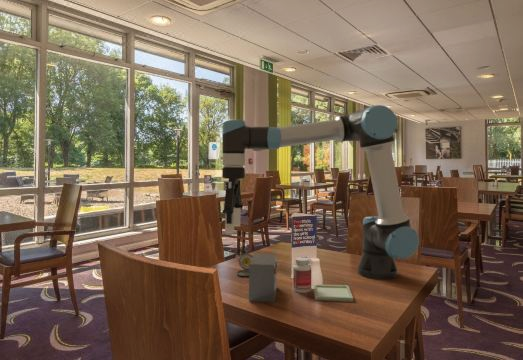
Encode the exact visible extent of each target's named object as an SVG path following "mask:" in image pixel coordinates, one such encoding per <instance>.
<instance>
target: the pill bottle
mask: <svg viewBox="0 0 523 360" xmlns="http://www.w3.org/2000/svg"><path fill="white" fill-rule="evenodd" d="M292 268H293V274H292V275H293V287H292V288H293V290H294V292H296V293H299V294H300V293H301V294H304V293H305V294H306V293H310V292H311V291H312V266H311V265H310V258H308V257H306V256H305V257H300V256H299V257H296V258H295V264H294V265H293V267H292Z"/></svg>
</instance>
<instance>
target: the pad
mask: <svg viewBox="0 0 523 360" xmlns="http://www.w3.org/2000/svg"><path fill="white" fill-rule="evenodd" d="M313 294H314V301H320V302H321V301H323V302H324V301H326V302H354V297H353V294H352V292H351V289H350V287H349V285H348V284H347V285H346V284H344V285H343V284H317V285H314V284H313Z"/></svg>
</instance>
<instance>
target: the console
mask: <svg viewBox="0 0 523 360" xmlns="http://www.w3.org/2000/svg"><path fill="white" fill-rule="evenodd" d="M252 256H253V257H252V259H250V260H251V261H250V262H249V276H248V301H249V302H251V303H252V302H253V303H257V302H258V303H275V299H276V293H277V287H278V286H277V284H278V282H277V281H278V277H277V275H278V268H279V262H278V254H277V253H253V255H252Z"/></svg>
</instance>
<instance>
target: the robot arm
mask: <svg viewBox="0 0 523 360" xmlns="http://www.w3.org/2000/svg"><path fill="white" fill-rule="evenodd" d="M397 128H398V118H397V116H396V114H395V112H394V111H393V110H392V109H390V108H389V107H388V106H386V105H381V104H377V105H370V106H367V107H366V108H363V109H360V110H356V111H355V112H352V113H350V114H346V115H340V116H335V118H334V119H332V120H323V121H317V122H310V123H302V124H301V123H300V124H295V125H287V126H279V127H278V126H277V127H275V126H249V125H246V122H245V120H244V119H238V118H237V119H231V118H230V119H225V120H224V121H223V123H222V133H221V134H222V135H221V136H222V147H221V149H222V156H220V159H221V160H222V166H223V167H222V168H221V169H222V171H221V172H222V173H221V175H222V176H221V177H222V179H225V180H226V179H228V181H226V183H225V196H224V207H223V210H222V214H225V215H224V217H225V218H224V219H225V220H224V221H225V222H224V234H226V235H227V234H228V235H235V227H238V228H239V227H241V217H242V216H241V210H242V209H241V208H243V207H244V205H243V202H242V193H241V191H242V190H241V180H240V179H244V178H245V176H246V168H245V167H244V166H246V149H247V150H249V149H250V150H253V151H255V152H259V151H263V150H264V151H266V150H279V149H280V148H285V147H293V146H300V145H307V144H315V143H322V142H330V141H335V140H336V141H338V143H342V142H359V145H360V146H359V147H360V149H361V150H363V152H365V154H366V155H365V156H366V160H367V164H368V169H369V174H370V179H371V184H372V185H371V186H372V190H373V195H374V200H375V206H376V210H377V215H376V216H374V215H373V216H365V217H364V218H363V220H362V253H361V254H362V255H361V257H360V260H359V263H358V266H357V274H359V275H361V276H362V277H365V278H368V279H374V280H392V279H395V278H396V279H397V277H398V274H399V271H398V270H399V269H398V266H397V264H396V260H395V259H399V260H404V259H408V258H410V257H411V256H413V255H414V254H415V252H416V251H417V250H418V247H419V245H420V237H419V234H418V233H417V231H416V230H415V228H412V227H411V221H410V216H408V215H407V214H405V213H404V209H403V204H402V203H403V202H402V197H401V194H400V186H399V183H398V176H397V172H396V167H395V161H394V156H393V150H392V146H393V145H394V143H395V136H394V134H395V132H396V130H397Z"/></svg>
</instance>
